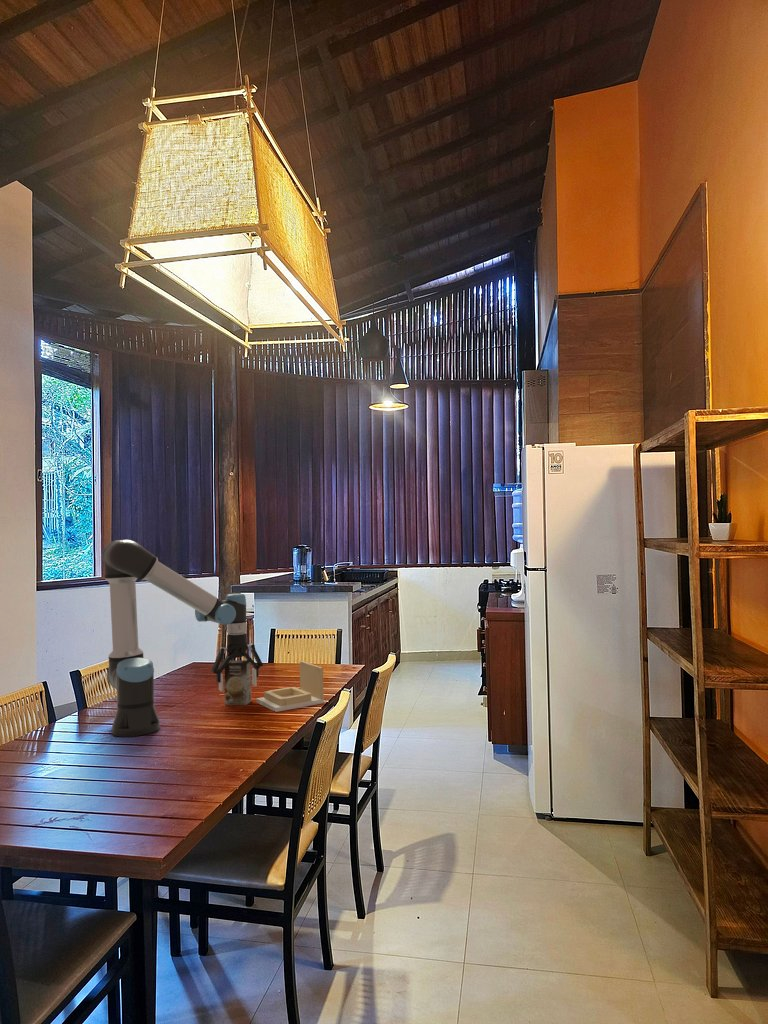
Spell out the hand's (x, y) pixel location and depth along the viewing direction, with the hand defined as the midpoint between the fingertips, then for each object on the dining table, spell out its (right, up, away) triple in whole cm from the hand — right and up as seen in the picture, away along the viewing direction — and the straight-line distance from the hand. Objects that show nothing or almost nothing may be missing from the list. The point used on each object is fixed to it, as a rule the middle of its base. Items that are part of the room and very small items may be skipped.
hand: (238, 688), depth 254 cm
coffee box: (0, -6, 0) cm, 6 cm away
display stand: (+20, -5, -3) cm, 21 cm away
